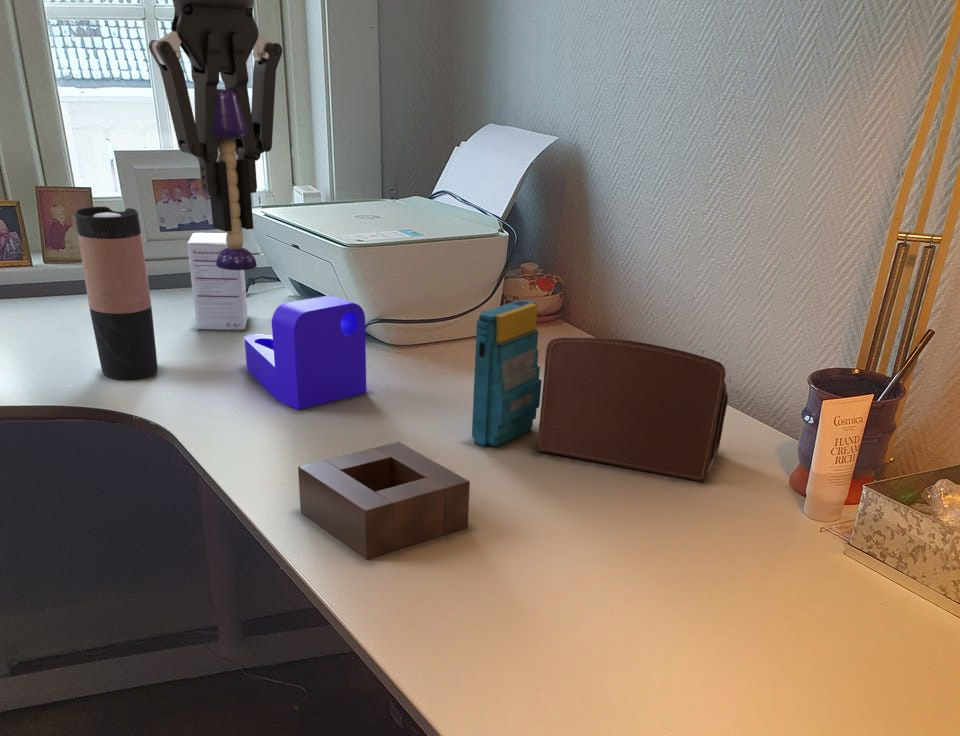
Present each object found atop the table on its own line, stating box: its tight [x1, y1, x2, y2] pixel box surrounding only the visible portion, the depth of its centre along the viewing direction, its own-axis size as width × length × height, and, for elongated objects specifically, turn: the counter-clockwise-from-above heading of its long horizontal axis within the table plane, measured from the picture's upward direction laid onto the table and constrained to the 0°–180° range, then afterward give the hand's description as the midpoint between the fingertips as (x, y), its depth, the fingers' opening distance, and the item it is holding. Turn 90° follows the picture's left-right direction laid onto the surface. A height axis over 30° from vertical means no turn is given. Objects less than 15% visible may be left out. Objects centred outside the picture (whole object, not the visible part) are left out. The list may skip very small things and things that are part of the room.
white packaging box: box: [187, 232, 249, 331], centre depth 150 cm, size 7×7×13 cm
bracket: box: [243, 295, 367, 411], centre depth 128 cm, size 18×11×12 cm, turn 45°
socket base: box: [297, 441, 471, 560], centre depth 97 cm, size 12×12×5 cm
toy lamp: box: [212, 88, 258, 271], centre depth 102 cm, size 5×5×17 cm
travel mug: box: [74, 206, 159, 381], centre depth 127 cm, size 8×8×20 cm
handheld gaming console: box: [471, 299, 542, 448], centre depth 115 cm, size 10×4×15 cm, turn 145°
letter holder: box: [536, 337, 729, 483], centre depth 112 cm, size 10×20×14 cm, turn 70°
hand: (233, 227), depth 104 cm, fingers closed on toy lamp, 2 cm apart
